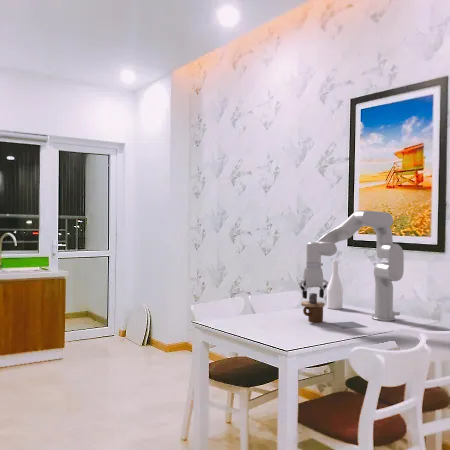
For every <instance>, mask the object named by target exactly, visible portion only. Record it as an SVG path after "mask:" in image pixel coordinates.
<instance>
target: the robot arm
mask: <svg viewBox="0 0 450 450" xmlns="http://www.w3.org/2000/svg"><path fill="white" fill-rule="evenodd" d="M393 224H394V218H393V215H392V214H390V213H389V212H386V211H373V210H357V211H354V212H353V213H352V214H351V215H350V216H348V218H346V219H345V220H344V221H343V222H342V223H341V224H340V225H339V226H336V227H335V228H334V229H331V230H330V231H329V232H327V233H325V234H324V235H323V236H321V237H320V239H318V240H317V241H316V242H315V241H311V242H310V241H309V242H307V243H306V259H305V261H306V264H305V265H306V267H305V268H304V270H303V275H302V276H303V278H302V280H300V281H298V282H297V284H298V286H299V289H301V291H302V298H303V299H308V291H307V290H308V289H309V288H319V290H318V291H319V294H318V295H319V298H321V299H324V296H325V290H326V289H327V288H328V285H329V281H328V280H326V279H324V274H323V268H322V266H323V265H324V263H322V256H324V257H331V256H334V255H335V254H336V253H337V250H338V248H337V245H336V244H337V243H339V242H342V241H345V240H348V239H350V238H351V237H353V236H354V235H355V233H357V232H358V231H359V230H360V229H361V228H363V227H370V228H372V229H373V231H374V233H375V235H376V256H377V258H378V259H380V260H382V261H387V262H382V261H381V262H378V263H377V264H375V266H374V269H373V276H374V283H375V285H374V286H375V287H374V290H375V291H374V314H373V315H371V319H372V320H376V321H382V322H383V321H384V322H391V321H393V320H394V321H396V317H395V316H400V315H401V313H400V312H399V311H394V310H393V309H394V308H393V307H394V306H393V305H394V304H393V303H394V284H393V282H399V281H400V280H402V278H403V276H404V273H405V272H404V268H405V267H404V265H405V260H404V259H405V254H404V250H403V248H402V246H401V245H399V244H398V243H393V231H392V228H391V226H392V225H393ZM394 321H393V322H394Z"/></svg>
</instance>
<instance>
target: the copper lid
mask: <svg viewBox="0 0 450 450" xmlns="http://www.w3.org/2000/svg"><path fill="white" fill-rule="evenodd" d="M300 305H301V306H302V307H323V308H324V307H325V303H324V302H322V301H321V302H320V301H318V293H316V292H315V293H314V292H310V293H309V295H308V300H307V301H301V304H300Z"/></svg>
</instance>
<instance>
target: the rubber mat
mask: <svg viewBox="0 0 450 450" xmlns="http://www.w3.org/2000/svg"><path fill="white" fill-rule="evenodd" d="M328 324H329V325H332V326H333V327H337V328H339V329H344V330H345V329H359V328H363V329H364V328H368V326H367V325H363V324H360V323H358V322H355V321H343V322H342V321H341V322H340V321H339V322H328Z"/></svg>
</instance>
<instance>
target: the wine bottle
mask: <svg viewBox="0 0 450 450" xmlns="http://www.w3.org/2000/svg"><path fill="white" fill-rule="evenodd" d="M339 263H340V262H339V260H338V259H333V260H332V273H331V277H330V279H329V281H328V285H327V287H326V307H327V309H329V310H330V309H331V310H341V309H343V300H344V299H343V295H344V294H343V293H344V292H343V291H344V290H343V285H342V283H341V278H340V275H339Z"/></svg>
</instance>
